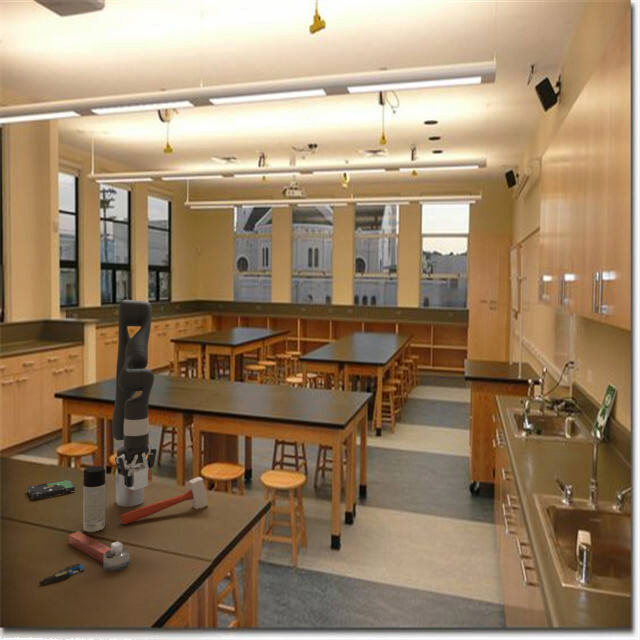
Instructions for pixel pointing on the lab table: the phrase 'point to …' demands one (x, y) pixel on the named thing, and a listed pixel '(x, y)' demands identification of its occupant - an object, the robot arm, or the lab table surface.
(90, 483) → the spray can
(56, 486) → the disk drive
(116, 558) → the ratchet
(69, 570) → the micrometer
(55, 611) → the lab table surface
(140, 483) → the cube with square hole
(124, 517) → the mallet
